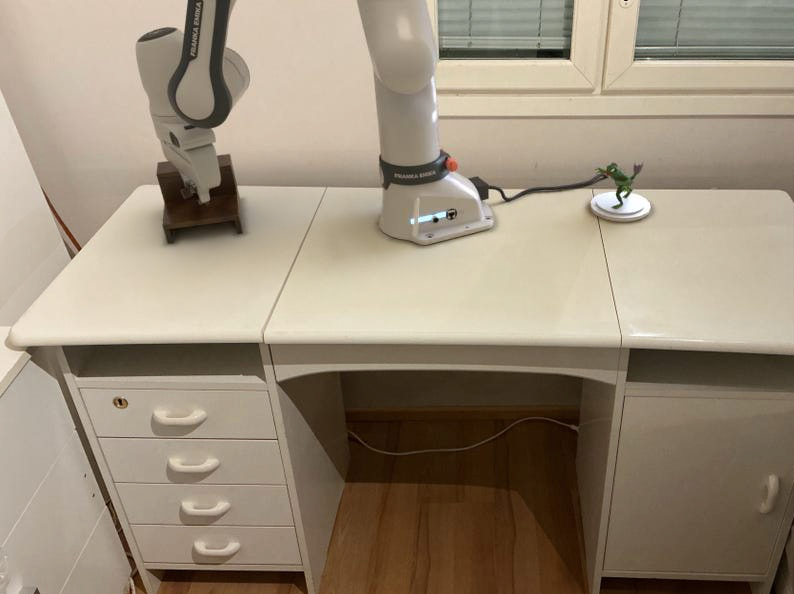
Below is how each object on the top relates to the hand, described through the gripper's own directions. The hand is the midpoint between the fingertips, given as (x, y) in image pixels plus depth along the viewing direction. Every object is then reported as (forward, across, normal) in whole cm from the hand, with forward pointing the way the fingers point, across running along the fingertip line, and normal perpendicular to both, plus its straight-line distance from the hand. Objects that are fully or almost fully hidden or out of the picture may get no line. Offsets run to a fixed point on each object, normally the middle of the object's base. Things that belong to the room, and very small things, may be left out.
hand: (198, 194), depth 148 cm
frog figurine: (+7, +46, +69) cm, 83 cm away
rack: (+7, -3, +1) cm, 8 cm away
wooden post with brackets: (+2, -1, 0) cm, 2 cm away
